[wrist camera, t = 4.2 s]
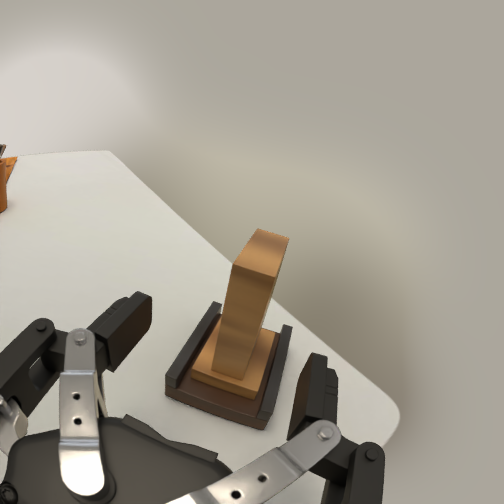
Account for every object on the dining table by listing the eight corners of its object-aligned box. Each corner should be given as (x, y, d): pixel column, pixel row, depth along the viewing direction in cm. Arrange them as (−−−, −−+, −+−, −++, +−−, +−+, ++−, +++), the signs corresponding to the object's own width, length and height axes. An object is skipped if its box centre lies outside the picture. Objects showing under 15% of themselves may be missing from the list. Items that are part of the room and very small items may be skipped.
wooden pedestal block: (254, 400, 19) (298, 289, 14) (190, 377, 20) (206, 259, 15) (272, 341, 25) (307, 240, 21) (220, 324, 26) (242, 221, 21)
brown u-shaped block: (263, 430, 18) (272, 413, 17) (164, 394, 19) (164, 374, 18) (284, 346, 27) (292, 326, 26) (209, 321, 28) (213, 300, 27)
